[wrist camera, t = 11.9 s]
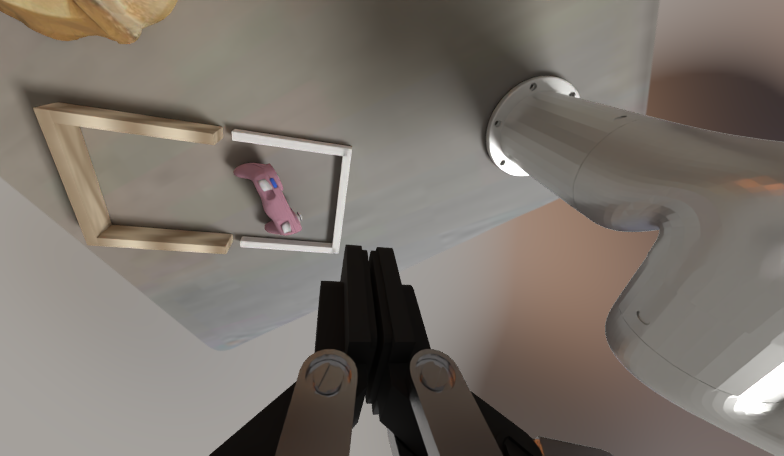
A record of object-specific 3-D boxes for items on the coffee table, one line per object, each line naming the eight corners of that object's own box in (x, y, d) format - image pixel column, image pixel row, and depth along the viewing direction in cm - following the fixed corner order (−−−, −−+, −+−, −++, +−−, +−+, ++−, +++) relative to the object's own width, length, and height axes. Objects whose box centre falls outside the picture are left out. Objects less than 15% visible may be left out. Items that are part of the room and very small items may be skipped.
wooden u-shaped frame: (222, 126, 34) (213, 134, 32) (232, 241, 42) (226, 254, 40) (58, 101, 31) (32, 107, 28) (103, 231, 39) (87, 245, 36)
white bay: (351, 146, 37) (352, 149, 36) (338, 249, 45) (338, 253, 44) (234, 128, 34) (231, 131, 33) (242, 241, 42) (240, 246, 41)
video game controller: (295, 216, 43) (313, 234, 38) (265, 230, 42) (279, 252, 36) (265, 151, 38) (281, 162, 33) (229, 165, 36) (239, 179, 31)
